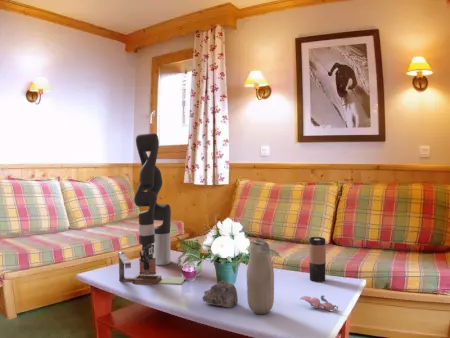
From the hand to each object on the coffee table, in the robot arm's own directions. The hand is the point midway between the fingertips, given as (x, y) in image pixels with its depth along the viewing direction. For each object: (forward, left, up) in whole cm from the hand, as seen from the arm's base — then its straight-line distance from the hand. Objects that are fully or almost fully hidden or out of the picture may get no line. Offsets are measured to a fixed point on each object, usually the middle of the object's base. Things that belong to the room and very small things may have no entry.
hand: (147, 268), depth 196 cm
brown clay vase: (+30, +57, -7) cm, 65 cm away
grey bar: (+8, -8, +5) cm, 12 cm away
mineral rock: (+24, +40, -7) cm, 47 cm away
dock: (0, -4, -6) cm, 8 cm away
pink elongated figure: (+23, +79, -7) cm, 83 cm away
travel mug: (-13, +81, -7) cm, 82 cm away
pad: (-2, +12, -6) cm, 13 cm away
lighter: (0, 0, -3) cm, 3 cm away
